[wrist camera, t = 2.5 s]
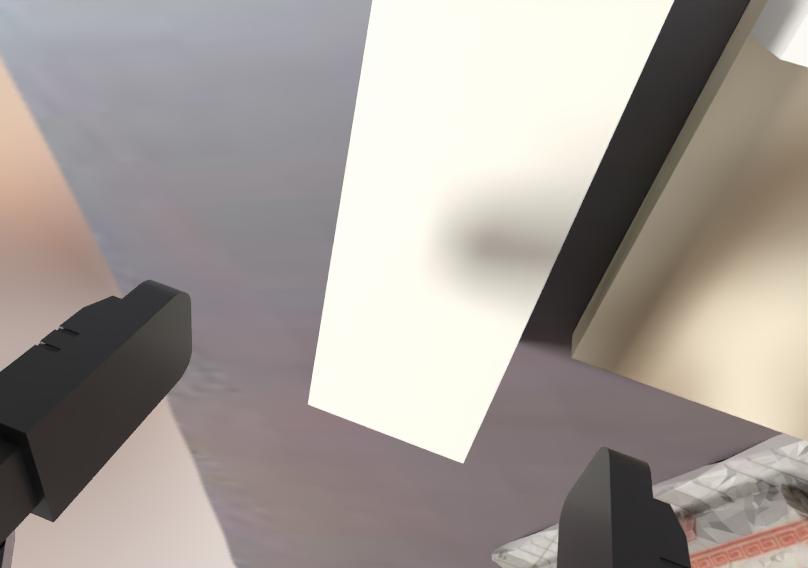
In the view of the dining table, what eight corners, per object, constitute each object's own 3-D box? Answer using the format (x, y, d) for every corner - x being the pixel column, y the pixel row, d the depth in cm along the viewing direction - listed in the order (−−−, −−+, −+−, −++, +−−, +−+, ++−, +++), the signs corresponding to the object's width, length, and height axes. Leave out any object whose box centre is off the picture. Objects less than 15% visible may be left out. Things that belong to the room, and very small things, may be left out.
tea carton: (649, -31, 16) (680, 1, 10) (496, 334, 24) (465, 464, 18) (458, -83, 16) (385, -81, 10) (374, 291, 24) (307, 404, 19)
